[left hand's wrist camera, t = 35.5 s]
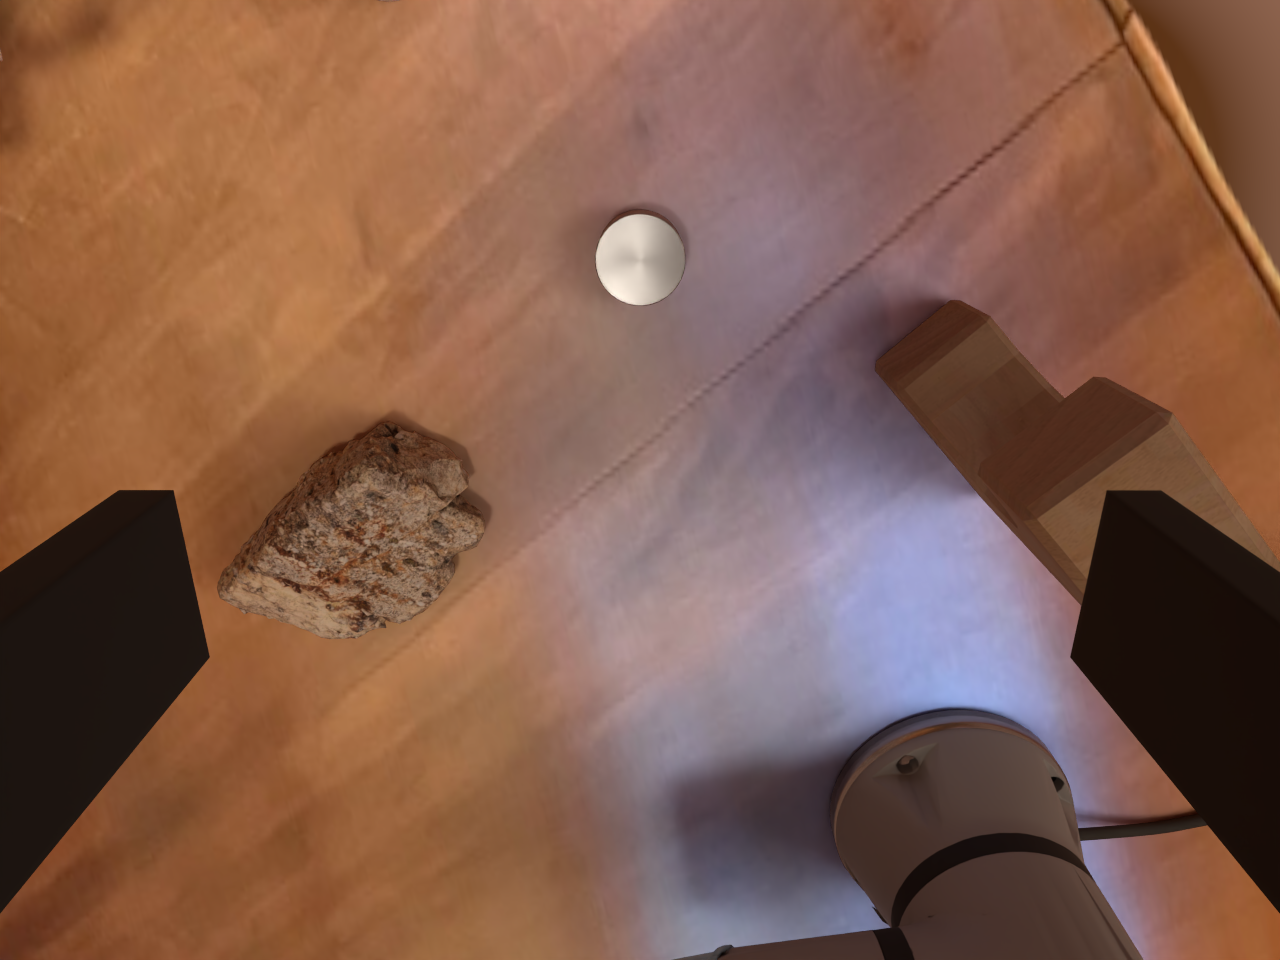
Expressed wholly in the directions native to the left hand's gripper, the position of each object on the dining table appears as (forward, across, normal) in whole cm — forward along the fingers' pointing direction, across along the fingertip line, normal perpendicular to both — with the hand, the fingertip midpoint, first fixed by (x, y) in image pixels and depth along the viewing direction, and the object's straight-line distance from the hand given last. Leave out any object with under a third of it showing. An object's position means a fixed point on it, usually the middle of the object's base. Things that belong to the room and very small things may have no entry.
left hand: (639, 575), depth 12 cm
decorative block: (+35, -18, +8) cm, 40 cm away
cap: (+32, 0, 0) cm, 33 cm away
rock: (+35, +16, +16) cm, 41 cm away
